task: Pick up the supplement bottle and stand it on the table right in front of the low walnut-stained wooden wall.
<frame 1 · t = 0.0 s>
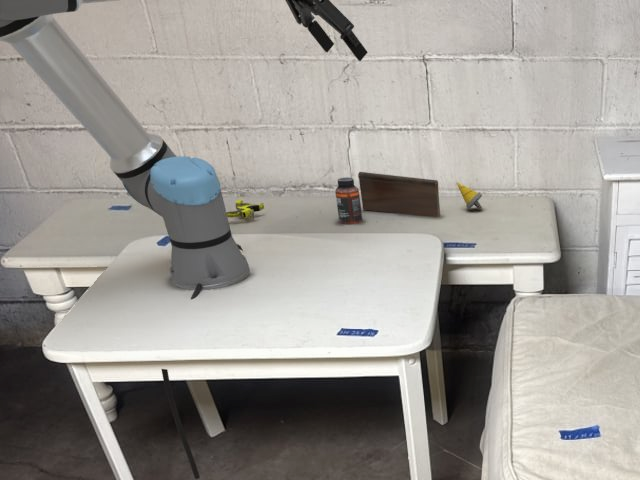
hand: (346, 52, 167), 41 cm above the table, tool tilted 35°, fingers open, 13 cm apart
wooden wall: (401, 212, 196), on the table
yellow spinning top: (470, 210, 198), on the table
supplement bottle: (351, 224, 189), on the table
yellow black clamp: (246, 218, 191), on the table
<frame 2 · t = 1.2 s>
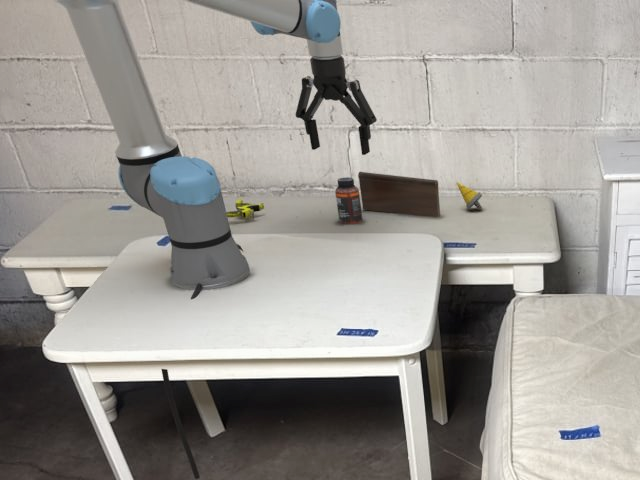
hand: (340, 150, 178), 19 cm above the table, tool pointing down, fingers open, 13 cm apart
nothing on the table moved.
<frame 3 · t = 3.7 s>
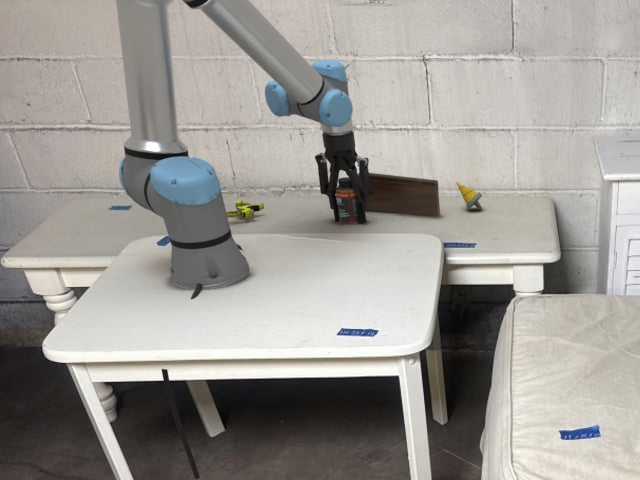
hand: (350, 222, 189), 0 cm above the table, tool pointing down, fingers closed on supplement bottle, 6 cm apart
supplement bottle: (351, 223, 189), on the table, touching gripper
everything else where it was.
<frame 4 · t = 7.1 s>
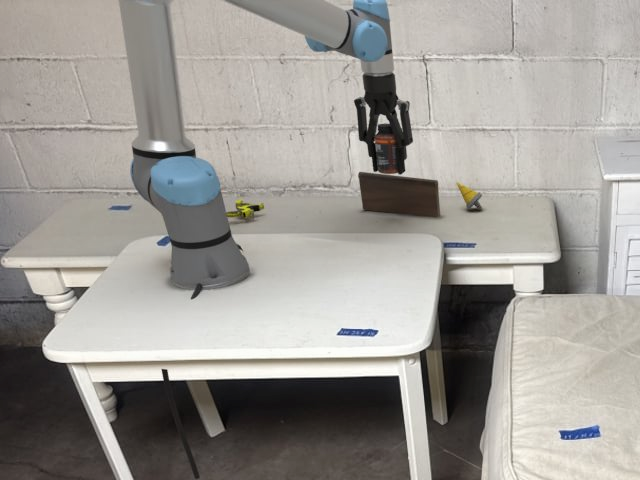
hand: (389, 171, 183), 13 cm above the table, tool pointing down, fingers closed on supplement bottle, 6 cm apart
supplement bottle: (389, 172, 183), point 13 cm above the table, touching gripper
everything else where it was.
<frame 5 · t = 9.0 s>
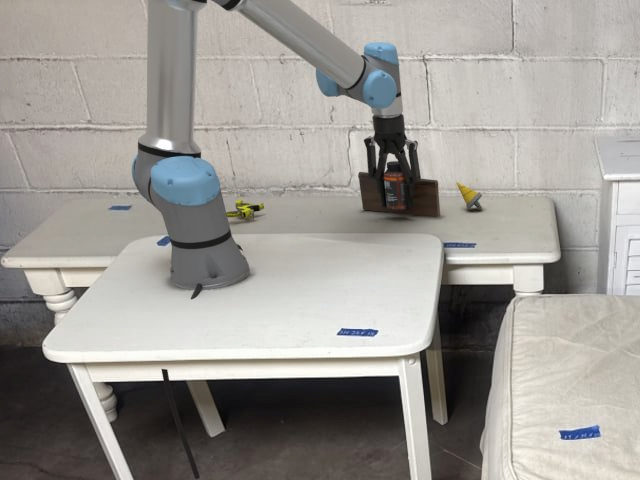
hand: (397, 206, 189), 4 cm above the table, tool pointing down, fingers closed on supplement bottle, 6 cm apart
supplement bottle: (398, 208, 189), point 4 cm above the table, touching gripper
everything else where it was.
when the fingers open (0 cm above the table, at t = 10.3 s): supplement bottle stays where it is, on the table.
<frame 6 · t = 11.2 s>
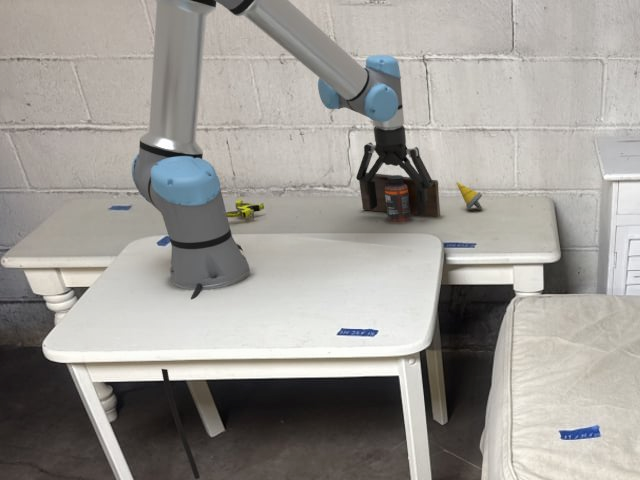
hand: (397, 210, 189), 3 cm above the table, tool pointing down, fingers open, 13 cm apart
supplement bottle: (399, 221, 191), on the table
everything else where it was.
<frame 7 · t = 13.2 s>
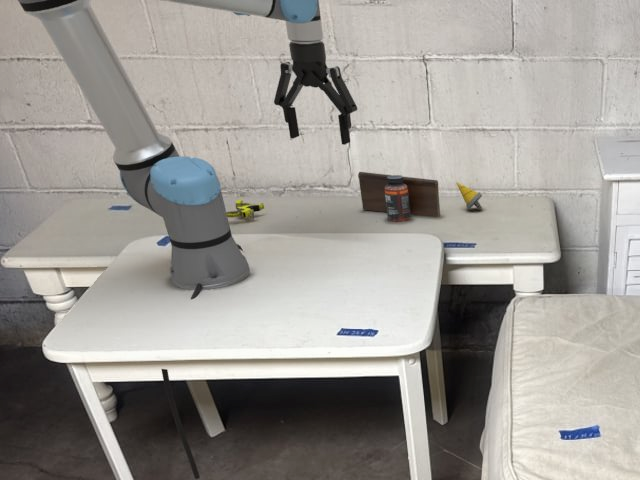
hand: (320, 140, 172), 23 cm above the table, tool pointing down, fingers open, 13 cm apart
nothing on the table moved.
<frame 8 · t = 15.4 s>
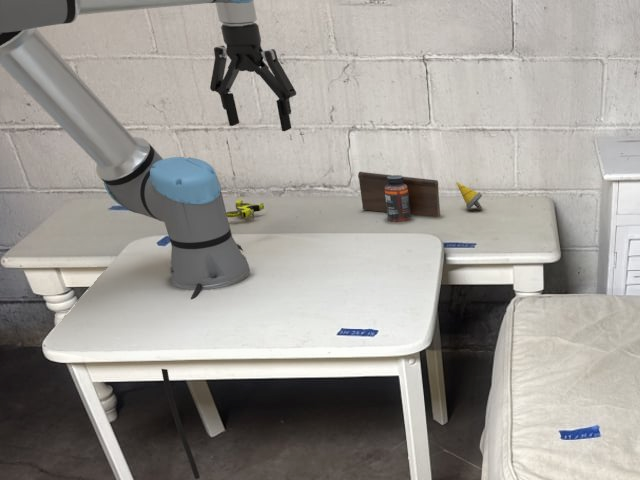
hand: (260, 127, 166), 27 cm above the table, tool pointing down, fingers open, 13 cm apart
nothing on the table moved.
at the end: supplement bottle inside the target area (0.6 cm from its centre), on the table; supplement bottle tilted 6°; the gripper is holding nothing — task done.
